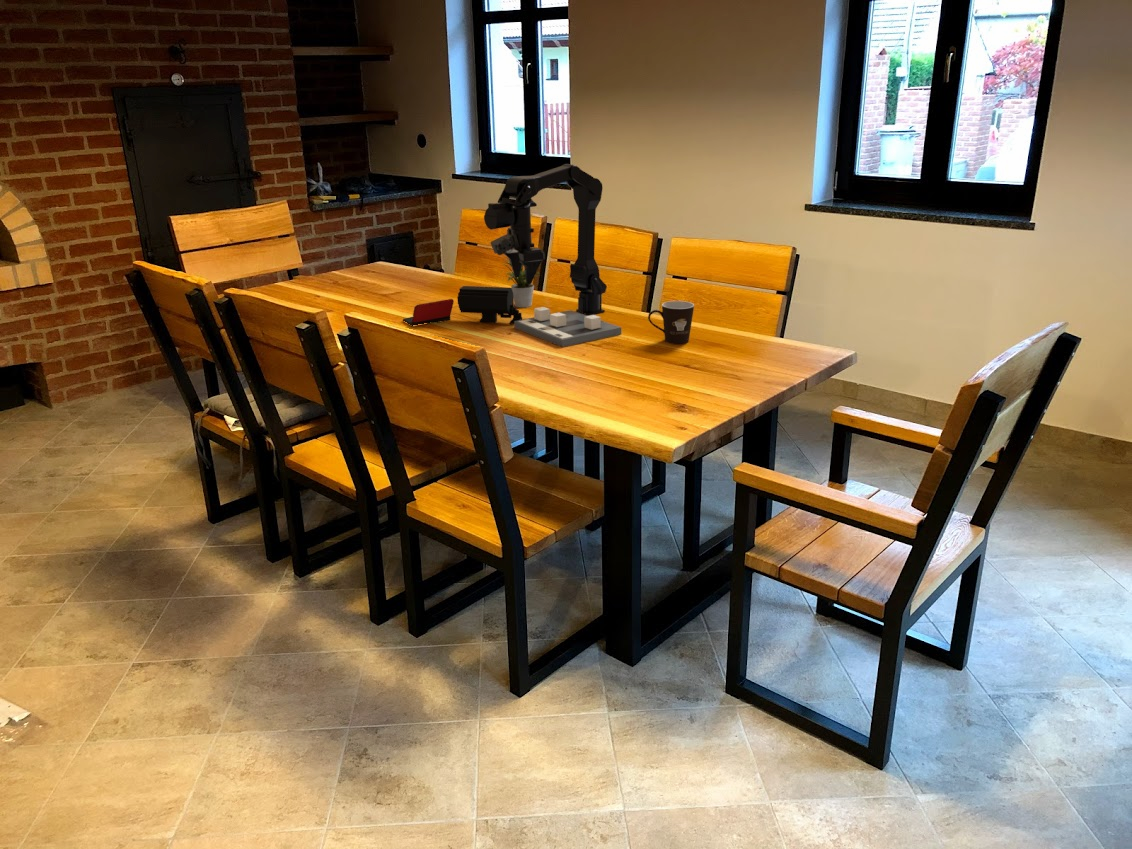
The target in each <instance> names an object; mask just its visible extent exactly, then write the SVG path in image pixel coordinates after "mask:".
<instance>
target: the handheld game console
mask: <svg viewBox="0 0 1132 849" xmlns="http://www.w3.org/2000/svg"><path fill="white" fill-rule="evenodd" d="M454 300H455V299H453V298H449V299H445V300H443V299H442V300H437V301H431V302H426V303H425V302H424V303H421V304H420V303H419V304H416V305H415V306H414V308H413V312H412V316H409V317H405V318H403V319H402V322H403V321H405V322H407V323H408V324H410V325H412V326H413V325H418V324H424V323H429V324H431V323H430V322H437V323H441V322H440V321H443V322H448V321H451V314H452V310H453V306H454V303H455V302H454ZM408 324H407V325H408ZM410 325H409V326H410ZM412 326H411V327H412Z"/></svg>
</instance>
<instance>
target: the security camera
mask: <svg viewBox="0 0 1132 849" xmlns="http://www.w3.org/2000/svg"><path fill="white" fill-rule="evenodd" d="M457 305H458V309H459V311H460V313H470V314H481V318H480V319H479V323H483V324H485V323H486V324H496V323H497V322H498V316H499V317H500V319H501V318H504V319H510V321H509V324H510V325H514V321H518V320H523V316H522V315H523V314H522V312H520V310H519V309H517V307H516V306H515V303H514V298H513V291H512V288H511V287H506V286H501V287H500V286H476V285H475V286H473V285H472V286H471V285H463V286H461V287H460V288H459V291H458V293H457ZM511 318H512V319H511Z"/></svg>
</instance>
